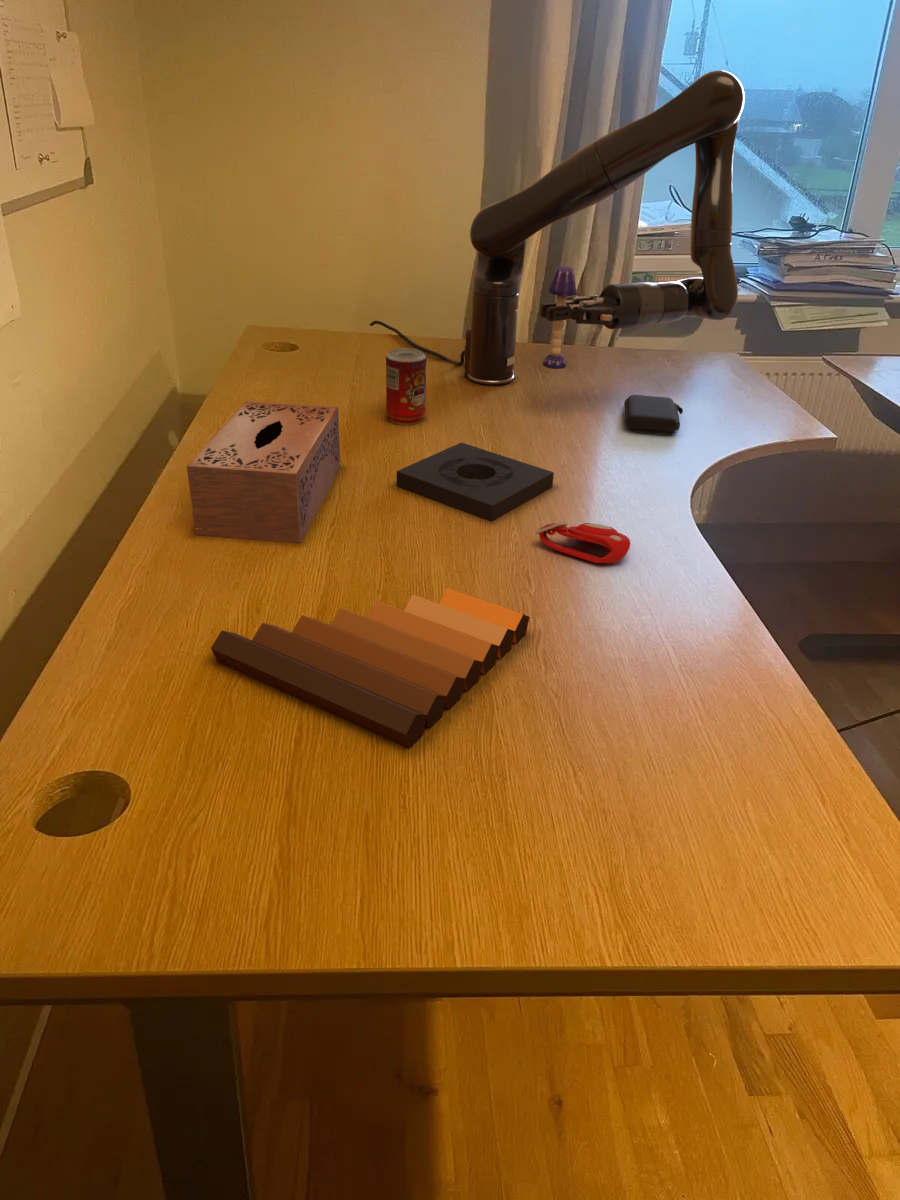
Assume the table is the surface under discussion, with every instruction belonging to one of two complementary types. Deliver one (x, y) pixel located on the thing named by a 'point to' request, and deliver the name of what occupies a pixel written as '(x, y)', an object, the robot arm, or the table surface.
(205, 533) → the tissue box cover
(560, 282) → the toy lamp
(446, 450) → the socket pad
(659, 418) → the carrying case
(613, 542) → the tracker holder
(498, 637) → the brown ridged flat slab
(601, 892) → the table surface
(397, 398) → the soda can
